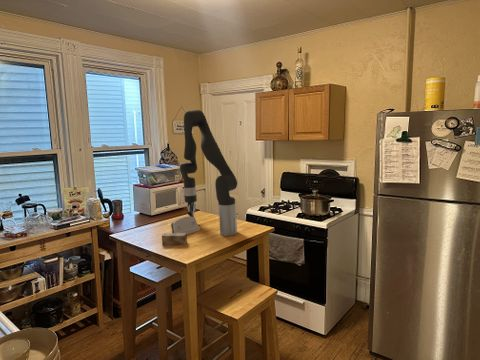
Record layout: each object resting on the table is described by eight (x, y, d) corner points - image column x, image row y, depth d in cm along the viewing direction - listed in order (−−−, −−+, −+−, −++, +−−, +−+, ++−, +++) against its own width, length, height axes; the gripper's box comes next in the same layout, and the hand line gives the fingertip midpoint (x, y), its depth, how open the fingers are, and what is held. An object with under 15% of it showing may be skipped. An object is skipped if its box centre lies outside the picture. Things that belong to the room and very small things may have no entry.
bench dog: (187, 242, 170) (186, 233, 169) (185, 245, 166) (184, 235, 165) (165, 242, 171) (164, 233, 171) (162, 245, 167) (161, 235, 167)
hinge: (177, 237, 179) (172, 219, 180) (172, 238, 182) (168, 221, 183) (200, 229, 190) (196, 213, 191) (196, 231, 194) (191, 214, 195)
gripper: (193, 196, 194) (195, 224, 197) (198, 191, 207) (200, 218, 210) (181, 196, 195) (183, 224, 198) (187, 192, 208) (189, 218, 211)
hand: (192, 221), depth 204 cm, fingers closed
